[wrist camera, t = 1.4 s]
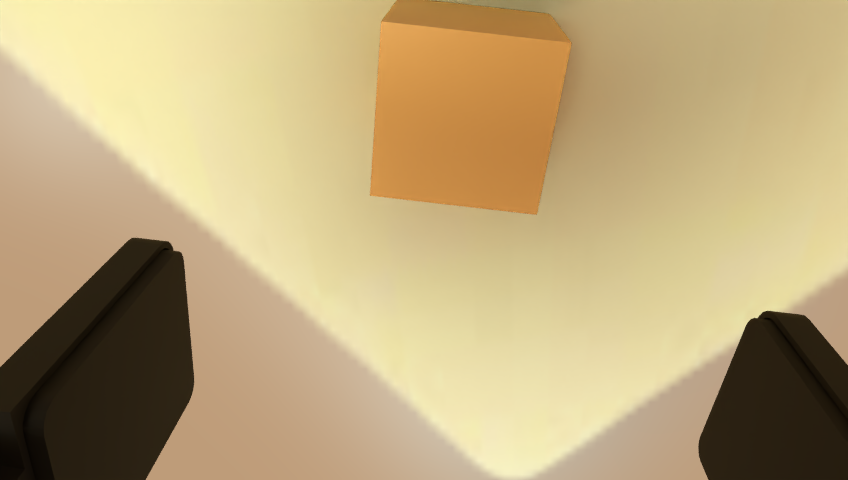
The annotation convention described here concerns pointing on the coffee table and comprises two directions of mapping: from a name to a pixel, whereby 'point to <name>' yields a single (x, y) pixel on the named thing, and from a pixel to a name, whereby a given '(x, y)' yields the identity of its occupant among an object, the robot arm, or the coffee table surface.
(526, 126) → the orange cube
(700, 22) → the coffee table surface
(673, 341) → the coffee table surface
